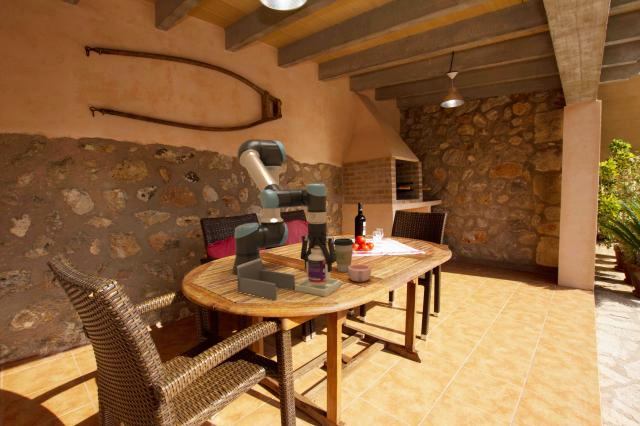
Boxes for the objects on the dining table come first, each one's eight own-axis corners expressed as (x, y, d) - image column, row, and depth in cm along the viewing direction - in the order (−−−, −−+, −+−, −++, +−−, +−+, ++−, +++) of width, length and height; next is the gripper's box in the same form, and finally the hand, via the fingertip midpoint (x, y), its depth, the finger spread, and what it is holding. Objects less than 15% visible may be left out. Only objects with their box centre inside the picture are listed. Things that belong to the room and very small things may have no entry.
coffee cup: (332, 267, 153) (332, 238, 152) (351, 266, 154) (351, 237, 152) (335, 273, 143) (334, 242, 142) (355, 272, 144) (355, 241, 143)
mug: (373, 283, 128) (372, 269, 128) (349, 284, 128) (349, 270, 127) (367, 274, 140) (367, 262, 140) (345, 275, 140) (345, 263, 139)
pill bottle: (326, 287, 118) (325, 251, 117) (306, 286, 120) (305, 250, 118) (329, 280, 126) (329, 246, 125) (311, 279, 128) (310, 246, 126)
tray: (295, 291, 120) (295, 285, 120) (312, 281, 132) (312, 275, 132) (325, 296, 114) (325, 290, 114) (340, 285, 126) (340, 280, 125)
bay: (238, 292, 120) (236, 266, 119) (260, 282, 132) (259, 258, 131) (274, 300, 111) (273, 271, 110) (294, 289, 123) (294, 263, 122)
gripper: (290, 222, 122) (291, 277, 124) (336, 224, 112) (337, 284, 114) (300, 220, 129) (301, 272, 131) (344, 222, 118) (345, 278, 121)
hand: (318, 277), depth 123 cm, fingers closed on pill bottle, 8 cm apart
